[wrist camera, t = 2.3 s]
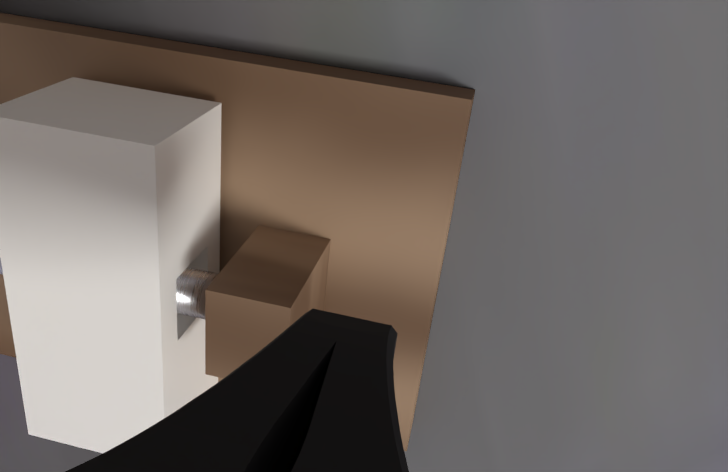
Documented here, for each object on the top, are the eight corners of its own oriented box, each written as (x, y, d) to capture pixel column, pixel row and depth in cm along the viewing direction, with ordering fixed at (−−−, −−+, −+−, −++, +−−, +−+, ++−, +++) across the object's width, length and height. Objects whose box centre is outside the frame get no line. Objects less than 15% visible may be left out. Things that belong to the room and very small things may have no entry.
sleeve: (217, 388, 21) (166, 469, 18) (98, 360, 21) (28, 434, 18) (221, 102, 16) (155, 146, 14) (73, 76, 17) (-24, 113, 14)
